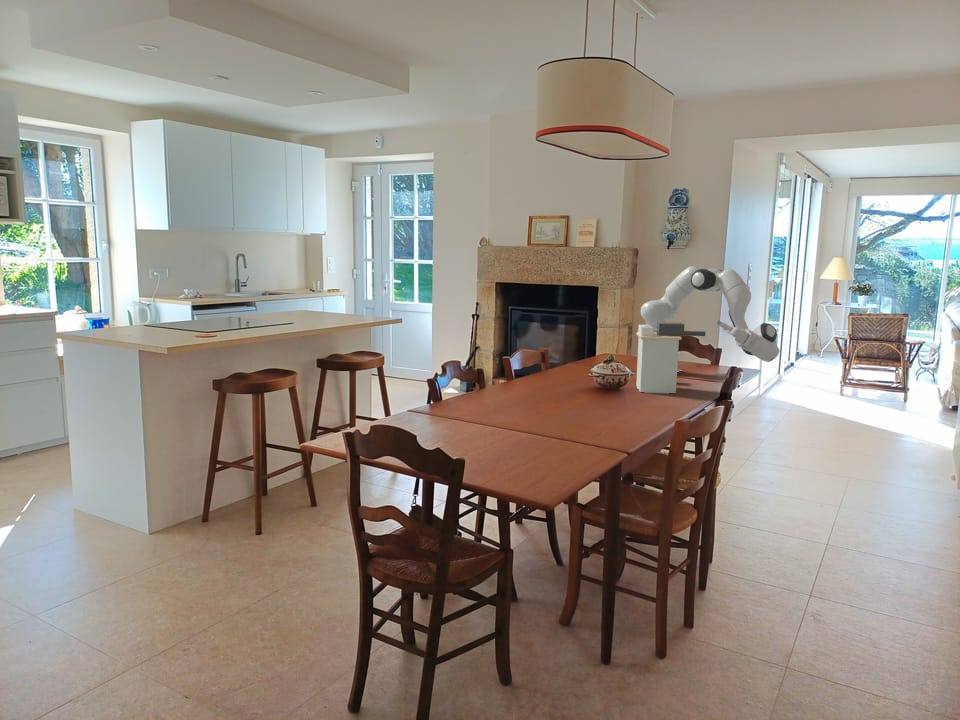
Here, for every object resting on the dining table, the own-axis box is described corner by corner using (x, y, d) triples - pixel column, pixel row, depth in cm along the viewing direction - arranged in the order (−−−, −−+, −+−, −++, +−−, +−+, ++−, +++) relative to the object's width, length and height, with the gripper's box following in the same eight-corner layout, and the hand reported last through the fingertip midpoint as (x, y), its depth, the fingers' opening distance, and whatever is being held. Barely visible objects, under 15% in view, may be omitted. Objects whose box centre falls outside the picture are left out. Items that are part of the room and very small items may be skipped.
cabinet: (671, 386, 328) (674, 333, 324) (678, 394, 311) (681, 337, 306) (633, 385, 330) (636, 332, 326) (638, 392, 312) (641, 336, 308)
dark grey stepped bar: (702, 334, 317) (703, 323, 317) (706, 336, 311) (707, 324, 310) (651, 333, 320) (651, 322, 319) (653, 335, 313) (653, 323, 312)
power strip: (649, 333, 322) (649, 324, 322) (652, 336, 311) (652, 327, 310) (638, 332, 323) (638, 324, 322) (641, 335, 311) (641, 326, 311)
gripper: (743, 329, 322) (718, 314, 322) (755, 335, 302) (728, 319, 302) (735, 341, 323) (710, 325, 323) (747, 347, 303) (720, 331, 303)
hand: (719, 322), depth 312 cm, fingers open, 8 cm apart
